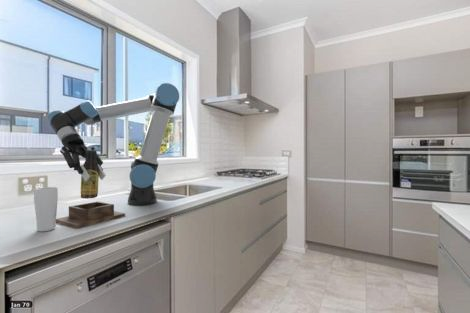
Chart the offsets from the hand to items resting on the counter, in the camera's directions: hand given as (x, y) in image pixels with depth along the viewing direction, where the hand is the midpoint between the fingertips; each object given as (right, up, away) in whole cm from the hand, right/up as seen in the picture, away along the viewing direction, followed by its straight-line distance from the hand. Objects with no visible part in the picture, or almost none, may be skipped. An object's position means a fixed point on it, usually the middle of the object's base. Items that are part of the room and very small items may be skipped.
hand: (95, 178), depth 99 cm
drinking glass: (-11, -18, -12) cm, 24 cm away
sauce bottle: (-3, -9, +2) cm, 9 cm away
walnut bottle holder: (-3, -17, +2) cm, 18 cm away
